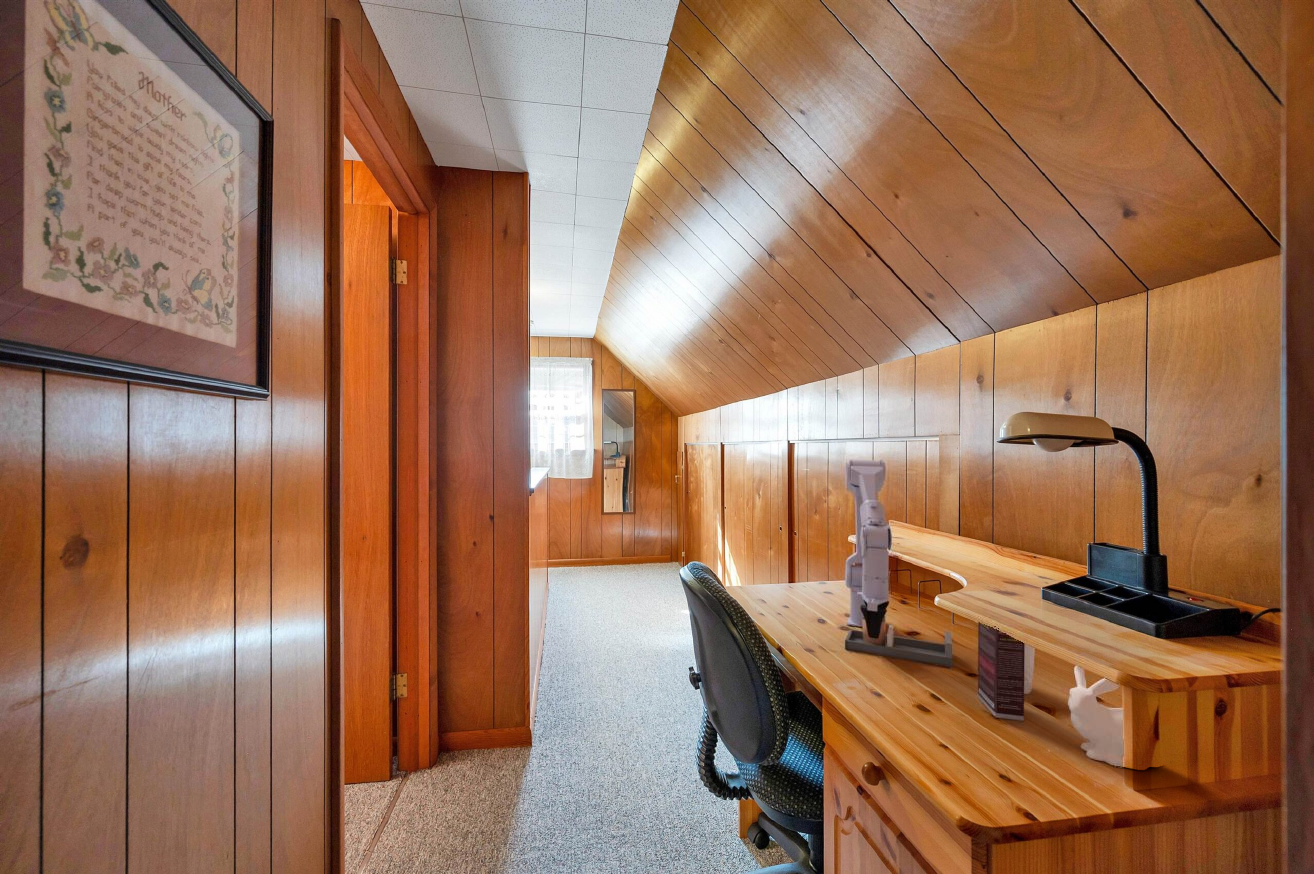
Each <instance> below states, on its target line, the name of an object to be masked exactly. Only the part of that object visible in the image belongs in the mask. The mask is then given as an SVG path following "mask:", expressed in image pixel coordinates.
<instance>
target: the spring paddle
mask: <svg viewBox="0 0 1314 874" xmlns="http://www.w3.org/2000/svg"><path fill="white" fill-rule="evenodd" d="M894 634H895V627H894V625H891V624H889V625H888V629H887V634H886V635H887V647H893V644H894V636H895V635H894Z"/></svg>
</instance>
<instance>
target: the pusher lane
mask: <svg viewBox="0 0 1314 874" xmlns="http://www.w3.org/2000/svg"><path fill="white" fill-rule="evenodd" d="M844 649H845V650H848V651H855V652H859V653H860V652H861V653H867V654H871V653H872V655H878V656H883V657H890V658H895V659H900V660H906V661H911V662H917V661H918V662H919V663H924V664H930V665H936V666H940V667H941V666H942V667H947V668H953V639H952V632H951V631H948V630H944V643H940V642H935V641H934V642H933V641H928V640H927V641H926V640H920V639H915V638H909V637H902V636H895V635H894V644H893V647H887V634H886V646H881V645H875V644H869V643H863V630H859V629H858V630H857V629H852V628H851V629H849V631H848V633H847V635H846V637H845V640H844Z"/></svg>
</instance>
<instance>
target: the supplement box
mask: <svg viewBox="0 0 1314 874" xmlns="http://www.w3.org/2000/svg"><path fill="white" fill-rule="evenodd" d="M977 626H978V627H977V629H978V633H977V635H978V636H977V637H978V638H977V639H978V641H977V646H978V647H977V648H978V649H977V652H978V653H977V654H978V655H977V698H978V699H979V700H980V701H981V702H982V703H983V704H984V707H986V708H987V709H988V711H989V712H990V713H991V714H992V715H993V716H994V717H995V718H998V719H1003V720H1009V721H1010V720H1011V721H1022V722H1024V721H1025V694H1024V660H1025V658H1024V657H1025V643H1023V642H1021V641H1019V640H1016V639H1014V638H1013V637H1011V636H1009V635H1007V634H1006V633H1003V632H1001V631H999V630H997V629H994V628H993V627H990V626H987V625H985V624H982V623H980V622H978V625H977ZM994 627H996V626H994ZM998 629H999V628H998Z"/></svg>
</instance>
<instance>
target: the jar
mask: <svg viewBox="0 0 1314 874" xmlns="http://www.w3.org/2000/svg"><path fill="white" fill-rule="evenodd" d="M862 631H863V643H869V644H875V645H881V646H886V635H887V634H886V615H885V616H884V618H883V620H882V624H881V629H880V635H879V638H878V639H876V638H869V636H868V632H867V627H866V622H865V618H864V616H863V627H862Z"/></svg>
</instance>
